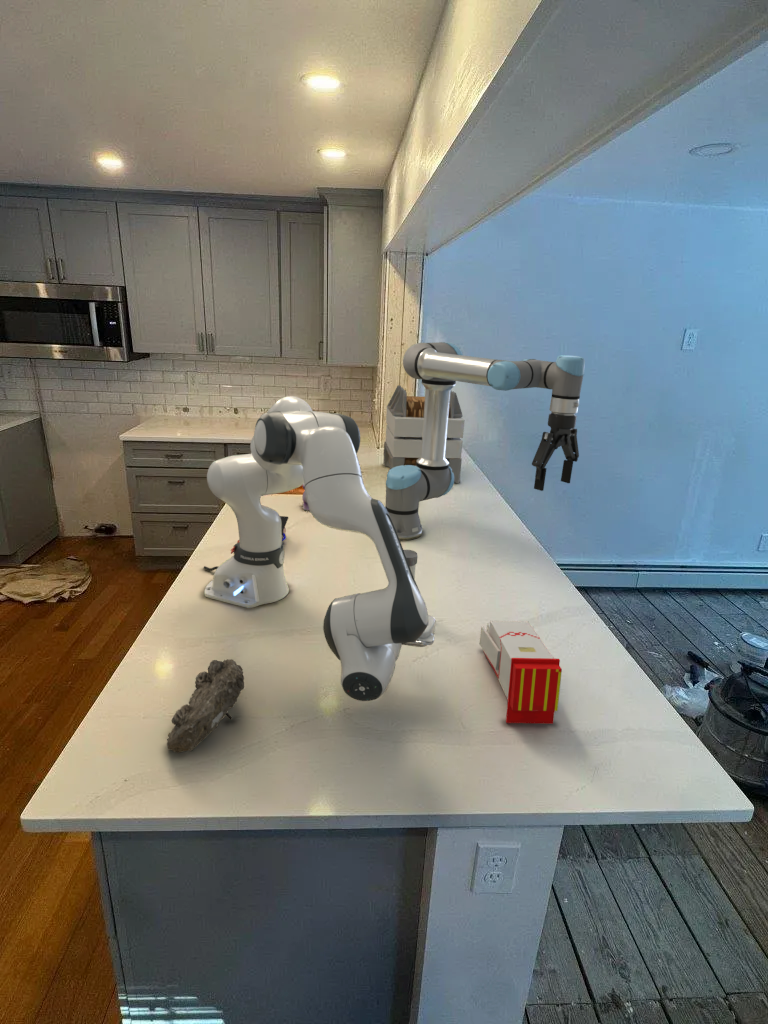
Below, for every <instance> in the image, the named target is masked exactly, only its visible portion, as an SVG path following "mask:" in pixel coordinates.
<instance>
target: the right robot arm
mask: <svg viewBox="0 0 768 1024" xmlns="http://www.w3.org/2000/svg"><path fill="white" fill-rule="evenodd" d="M585 365H586V360H585V358H584V357H582V356H578V355H566V354H565V355H564V354H563V355H558V356H557V357H556V360H555V361H549V360H541V359H536V358H524V359H521V360H506V359H505V360H504V359H503V360H502V359H496V358H487V357H479V356H471V355H464V354H463V352H462V350H461V349H460V347H459V346H457V345H456V344H455V343H451V342H445V341H443V342H442V341H441V342H440V341H439V342H438V341H437V342H417V343H414V344H412V345H411V346H409V347H408V348H407V350H406V351H405V353H404V355H403V358H402V366H403V369H404V372H405V373H406V374H407V375H408V376H409V377H411V378H412V379H415V380H421V385H422V386H423V387H424V389H425V392H424V397H425V404H424V419H423V434H422V449H421V457H420V458H418V459H417V461H416V466H413V465H401V466H396V467H394V468H392V469H390V468H389V470H388V472H387V474H386V479H385V504H384V506H385V508H386V509H387V511H388V513H389V515H390V517H391V520H392V522H393V525H394V527H395V530H396V532H397V535H398V537H399V540H400V541H410V540H415V539H418V538H420V537H421V536H422V535H423V525H422V524H421V518H420V515H419V507H420V506H419V505H420V502H423V501H427V500H431V499H437V498H440V497H443V496H446V495H448V493H450V492H451V490H452V489H453V488H454V487H453V486H454V484H455V483H454V473H452V469H451V467H450V466H449V462H448V461H447V459H446V458H445V453H446V441H447V428H448V416H449V404H450V392H451V391H452V389H453V388H454V387H455V386H456V384H457V382H461V383H465V384H473V385H479V386H487V387H491V388H492V389H494V390H496V391H503V392H504V391H511V390H520V389H532V388H533V389H534V388H539V389H546V390H551V398H550V404H549V413H548V418H547V419H548V420H547V426H548V427H549V428H550V431H549V432H548V431H543V432H542V435H541V440H540V442H539V445H538V447H537V449H536V452H535V454H534V457H533V460H532V461H531V466H533V467H535V475H534V477H535V478H534V485H533V489H534V490H537V491H539V492H543V491H544V489H545V484H546V483H545V482H546V476H547V468H546V466H547V465H548V463H549V461H550V459H551V457H552V456H553V454H554V453H555V451H556V450H557V449H558V448H560V447H561V449H562V452H563V455H564V458H565V459H563V463H562V468H561V469H562V470H561V475H560V482H562V483H566V484H571V478H572V472H573V466H574V463H576V462H578V461H579V457H580V453H579V444H578V428H576V423H577V419H578V416H577V414H578V412H579V411H578V410H579V406H580V397H581V391H582V385H583V380H584V376H585Z"/></svg>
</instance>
